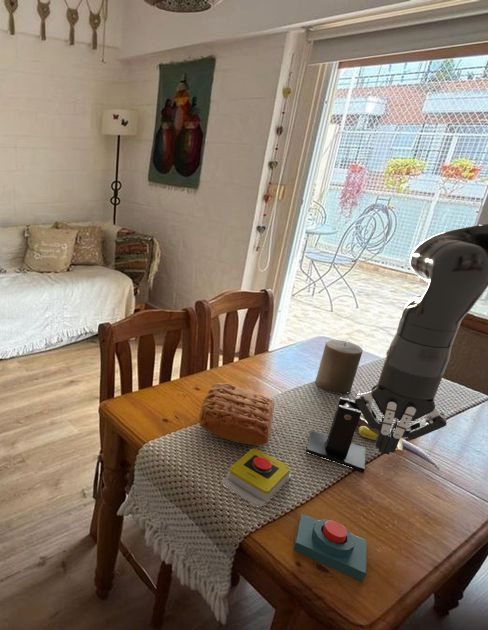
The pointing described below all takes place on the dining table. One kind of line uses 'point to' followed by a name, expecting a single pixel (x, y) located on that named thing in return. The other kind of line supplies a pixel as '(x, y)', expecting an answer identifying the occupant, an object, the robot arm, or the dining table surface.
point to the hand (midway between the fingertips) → (383, 450)
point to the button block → (331, 548)
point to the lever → (399, 447)
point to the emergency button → (257, 477)
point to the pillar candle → (338, 366)
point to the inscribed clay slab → (237, 414)
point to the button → (334, 532)
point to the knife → (406, 445)
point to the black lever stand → (340, 438)
